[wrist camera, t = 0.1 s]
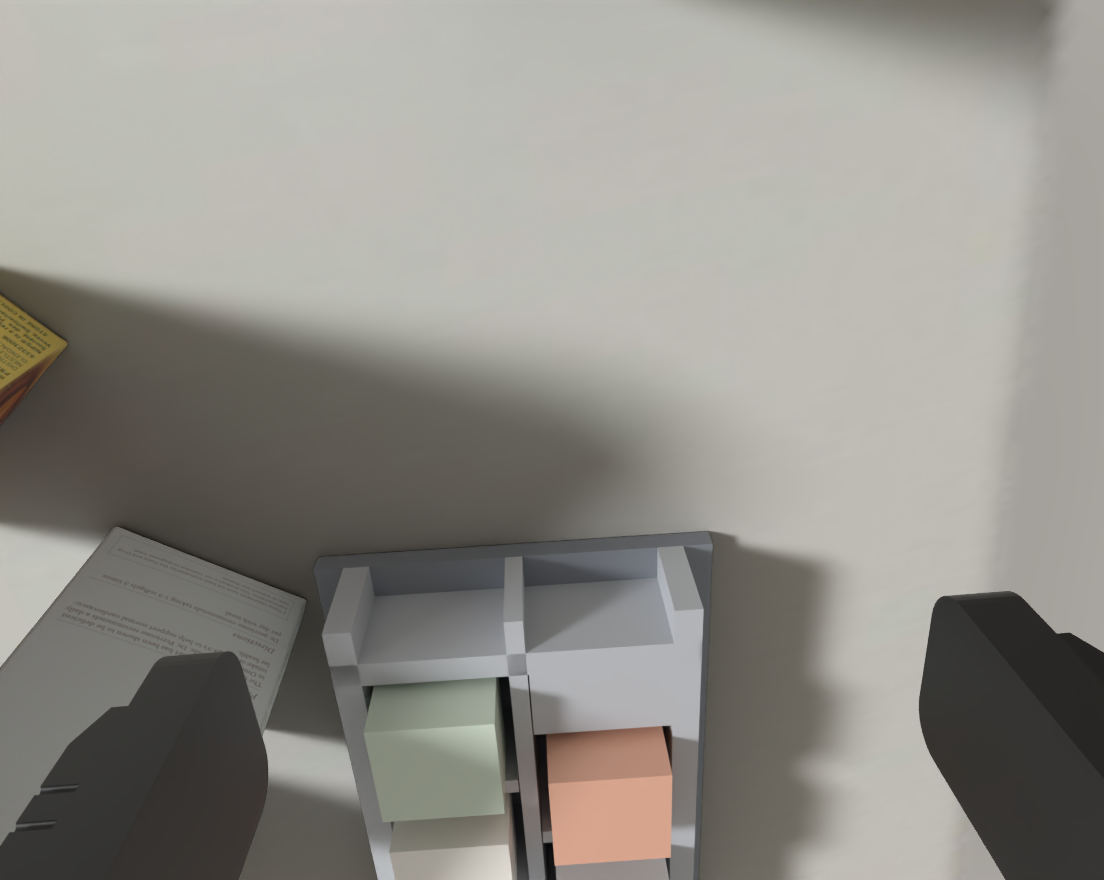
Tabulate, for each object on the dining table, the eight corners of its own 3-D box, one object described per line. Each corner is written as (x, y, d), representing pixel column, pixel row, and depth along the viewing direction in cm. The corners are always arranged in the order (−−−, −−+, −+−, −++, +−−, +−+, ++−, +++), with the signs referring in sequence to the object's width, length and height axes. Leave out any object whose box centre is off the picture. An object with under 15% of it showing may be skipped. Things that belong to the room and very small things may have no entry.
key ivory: (401, 779, 30) (389, 852, 27) (509, 771, 30) (508, 844, 27) (414, 851, 32) (405, 927, 29) (517, 844, 32) (516, 919, 29)
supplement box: (58, 664, 31) (-210, 1030, 19) (116, 517, 28) (-156, 844, 17) (245, 730, 33) (101, 1099, 21) (317, 599, 30) (195, 943, 19)
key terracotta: (545, 713, 29) (548, 783, 26) (657, 706, 29) (672, 775, 26) (551, 792, 30) (554, 865, 28) (657, 785, 30) (670, 857, 28)
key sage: (378, 664, 27) (363, 733, 25) (496, 656, 27) (494, 724, 25) (395, 750, 29) (382, 822, 26) (506, 742, 29) (504, 813, 27)
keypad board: (318, 557, 29) (287, 636, 25) (708, 531, 29) (737, 606, 25) (396, 910, 38) (382, 1009, 34) (693, 889, 38) (713, 985, 34)
